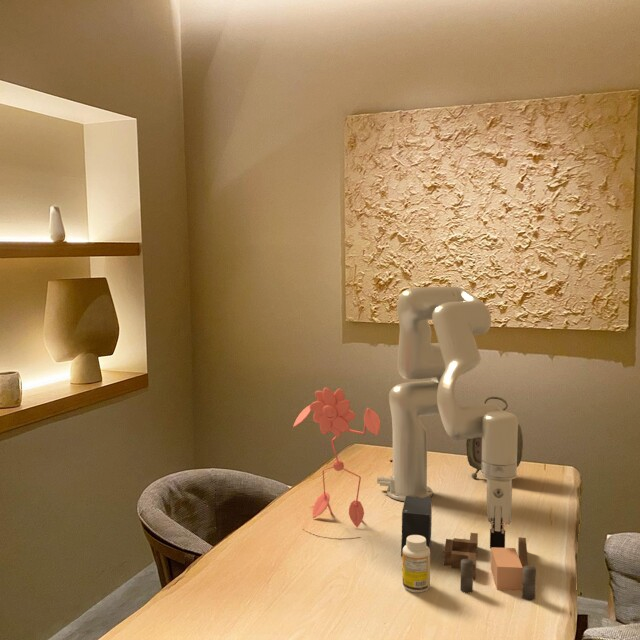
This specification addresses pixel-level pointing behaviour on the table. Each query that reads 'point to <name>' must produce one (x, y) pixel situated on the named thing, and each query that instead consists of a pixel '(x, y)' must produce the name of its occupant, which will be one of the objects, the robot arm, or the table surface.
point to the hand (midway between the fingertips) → (497, 548)
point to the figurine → (334, 418)
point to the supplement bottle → (416, 564)
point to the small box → (416, 519)
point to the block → (506, 569)
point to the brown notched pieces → (464, 558)
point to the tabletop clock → (476, 447)
